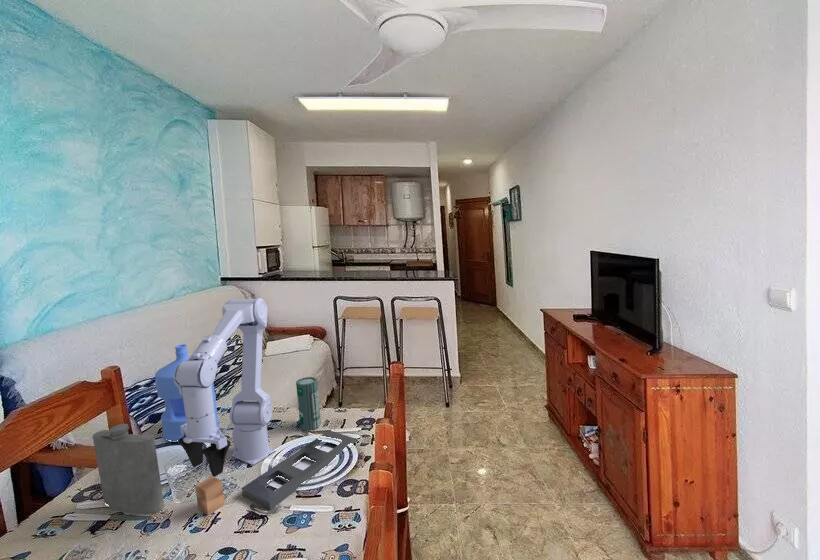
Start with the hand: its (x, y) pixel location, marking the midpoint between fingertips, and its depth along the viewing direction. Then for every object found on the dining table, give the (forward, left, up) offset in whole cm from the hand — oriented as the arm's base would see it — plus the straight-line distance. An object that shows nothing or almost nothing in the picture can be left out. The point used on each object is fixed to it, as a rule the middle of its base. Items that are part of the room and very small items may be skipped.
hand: (207, 469), depth 92 cm
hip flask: (-17, -9, -10) cm, 22 cm away
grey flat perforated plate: (+8, +21, -9) cm, 24 cm away
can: (-7, +38, -10) cm, 40 cm away
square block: (0, 0, -10) cm, 10 cm away
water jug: (-39, +18, -10) cm, 44 cm away
